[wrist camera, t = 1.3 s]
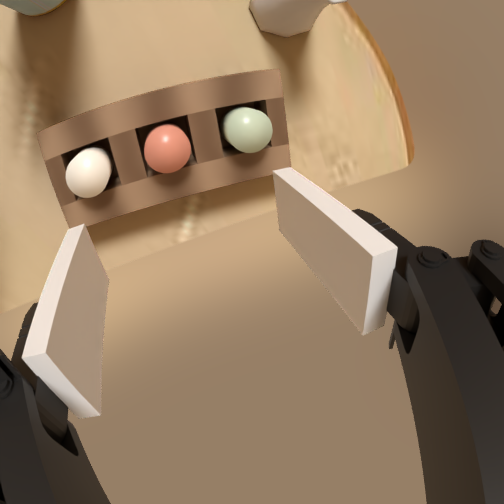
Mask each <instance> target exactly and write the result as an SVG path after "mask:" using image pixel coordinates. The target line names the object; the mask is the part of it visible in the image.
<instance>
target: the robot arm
mask: <svg viewBox="0 0 504 504" xmlns="http://www.w3.org/2000/svg"><path fill="white" fill-rule="evenodd" d="M273 179H274V188H275V196H276V205H277V213H278V222H279V230H280V232H281V233H282V234H283V235H284V237H285V238H286V239H287V240H288V241H289V243H290V244H291V245H292V246H293V248H294V249H295V250H296V251H297V253H298V254H299V255H300V256H301V258H302V259H303V260H304V261H305V262H306V264H307V265H308V266H309V268H310V269H311V270H312V271H313V272H314V274H315V275H316V276H317V278H318V279H319V280H320V281H321V283H322V284H323V285H324V286H325V288H326V289H327V290H328V292H329V293H330V294H331V295H332V297H333V298H334V299H335V300H336V302H337V303H338V304H339V306H340V307H341V308H342V309H343V311H344V312H345V313H346V314H347V316H348V317H349V318H350V320H351V321H352V322H353V324H354V325H355V326H356V328H357V329H358V330H359V332H360V333H361V334H362V335H365V334H367V333H369V332H372V331H374V330H376V329H378V328H380V327H382V326H384V324H385V319H386V314H387V311H388V312H389V314H390V315H391V316H392V317H393V318H394V319H395V321H394V325H393V329H392V333H391V337H390V341H389V349H392V348H393V345H394V341H395V340H396V343H397V348H398V351H399V354H400V358H401V362H402V366H403V370H404V374H405V378H406V383H407V387H408V391H409V396H410V400H411V405H412V410H413V414H414V420H415V425H416V431H417V436H418V442H419V448H420V454H421V461H422V468H423V475H424V483H425V491H426V501H427V504H504V248H503V247H502V246H500V245H499V244H497V243H495V242H493V241H491V240H477V241H475V242H474V243H473V244H472V246H471V249H470V254H469V256H466V257H457V258H451V257H450V256H449V255H448V254H447V253H446V252H444V251H443V250H441V249H439V248H435V247H430V246H421V247H416V246H414V245H413V244H412V243H410V242H409V241H408V240H407V239H405V238H404V237H403V236H401V235H400V234H399V233H397V232H396V231H395V230H393V229H392V228H391V229H390V227H389V226H388V225H386V224H385V223H382V221H381V220H380V219H378V218H377V217H376V216H374V215H373V214H371V213H368V212H366V211H363V210H360V209H356V210H352V211H351V210H350V209H348V208H347V207H346V206H344V205H343V204H342V203H340V202H339V201H338V200H336V199H335V198H333V197H332V196H331V195H329V194H328V193H327V192H325V191H324V190H322V189H321V188H320V187H318V186H317V185H315V184H314V183H313V182H311V181H310V180H308V179H307V178H305V177H304V176H303V175H301V174H300V173H298V172H297V171H295V170H294V169H292V168H291V167H288V168H283V169H279V170H274V171H273ZM108 285H109V278H108V276H107V274H106V272H105V269H104V267H103V265H102V263H101V261H100V258H99V256H98V254H97V252H96V249H95V247H94V245H93V242H92V240H91V238H90V235H89V233H88V230H87V228H86V225H85V224H82V225H79V226H76V227H73V228H70V229H68V231H67V233H66V235H65V237H64V240H63V242H62V244H61V246H60V249H59V251H58V253H57V256H56V258H55V260H54V263H53V265H52V268H51V270H50V273H49V275H48V278H47V281H46V283H45V286H44V288H43V291H42V294H41V297H40V300H39V302H38V303H34V304H33V305H32V307H31V308H30V310H29V311H28V312H27V314H26V315H25V318H24V321H23V324H22V329H21V330H20V333H19V338H18V339H17V343H16V346H15V349H14V352H13V356H12V359H11V361H10V360H9V359H8V358H7V357H6V355H5V354H4V353H3V352H2V350H1V349H0V504H111V503H110V502H109V500H108V498H107V496H106V494H105V492H104V490H103V488H102V487H101V485H100V483H99V481H98V479H97V477H96V475H95V472H94V470H93V468H92V466H91V464H90V462H89V460H88V457H87V455H86V453H85V451H84V448H83V446H82V443H81V441H80V439H79V436H78V434H77V431H76V429H75V428H74V426H73V424H72V423H70V422H69V421H68V420H67V418H68V409H69V410H70V411H71V412H73V413H74V414H75V415H76V416H77V417H78V418H79V419H80V418H86V417H93V416H99V415H101V371H102V350H103V335H104V322H105V311H106V301H107V293H108ZM496 298H497V299H498V300H499V301H500V302H501V304H502V306H501V308H500V310H499V312H498V314H495V313H493V312H492V311H491V308H492V306H493V303H494V301H495V299H496Z"/></svg>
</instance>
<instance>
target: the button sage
mask: <svg viewBox="0 0 504 504" xmlns="http://www.w3.org/2000/svg"><path fill="white" fill-rule="evenodd" d="M220 130H221V133H222V136H223V137H224V138H225V140H226V141H228V142H229V143H230V144H231V145H233V146H234V147H235V148H236V149H238V150H239V151H242V152H245V153H254V152H258V151H260V150H262V149H263V148H264V147H265V146H266V145H267V144H268V143H269V141H270V139H271V137H272V131H273V129H272V124H271V121H270V119H269V118H268V117H267V115H265V114H264V113H263V112H261V111H258V110H255V109H252V108H248V107H244V106H237V107H234V108H231V109H229V110H228V111H227V112H226V113H225V114H224V115H223V117H222V119H221V123H220Z"/></svg>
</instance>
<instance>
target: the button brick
mask: <svg viewBox="0 0 504 504" xmlns="http://www.w3.org/2000/svg"><path fill="white" fill-rule="evenodd" d="M190 154H191V145H190V142H189V139H188V138H187V136H186V135H185V133H184V131H183V130H182V129H181V128H180V127H179V126H177V125H175V124H173V123H161V124H158V125H156V126H155V127H153V128H152V129H151V130H150V131H149V133H148V135H147V137H146V141H145V148H144V155H145V159H146V161H147V163H148V165H149V166H150V167H151V168H152V169H154V170H155V171H157V172H160V173H172V172H175V171H178V170H179V169H181V168H182V167H183V166H184V165H185V164H186V163H187V161H188V159H189V157H190Z"/></svg>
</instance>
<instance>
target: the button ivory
mask: <svg viewBox="0 0 504 504" xmlns="http://www.w3.org/2000/svg"><path fill="white" fill-rule="evenodd" d="M112 170H113V159H112V156H111V154H110V153H109V152H108V151H107V150H106V149H105V148H103V147H101V146H97V145H92V146H88V147H86V148H84V149H83V150H81V151H80V152H79V153H78V154H77V155H76V157H75V158H74V159H73V160H72V161H71V162H70V163H69V165H68V167H67V170H66V182H67V185H68V187H69V189H70V190H71V191H72V192H73V193H74V194H76V195H77V196H79V197H83V198H91V197H94V196H97V195H98V194H100V193H101V192H102V191H103V190H104V188H105V187H106V185H107V183H108V180H109V178H110V175H111V173H112Z"/></svg>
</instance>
